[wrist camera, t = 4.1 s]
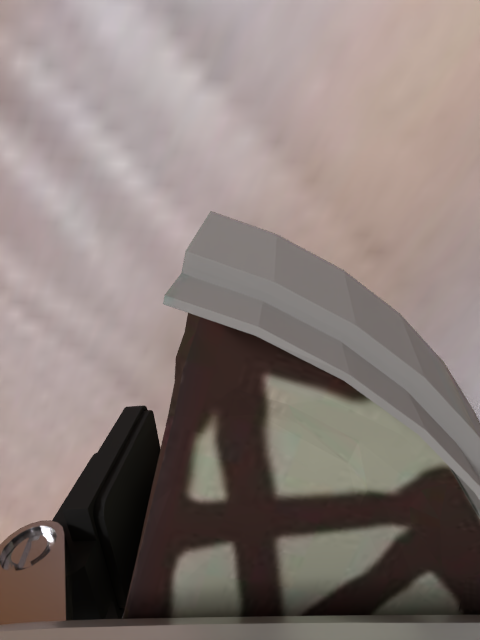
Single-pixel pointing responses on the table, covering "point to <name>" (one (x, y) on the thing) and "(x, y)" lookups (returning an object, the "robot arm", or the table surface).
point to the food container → (305, 449)
